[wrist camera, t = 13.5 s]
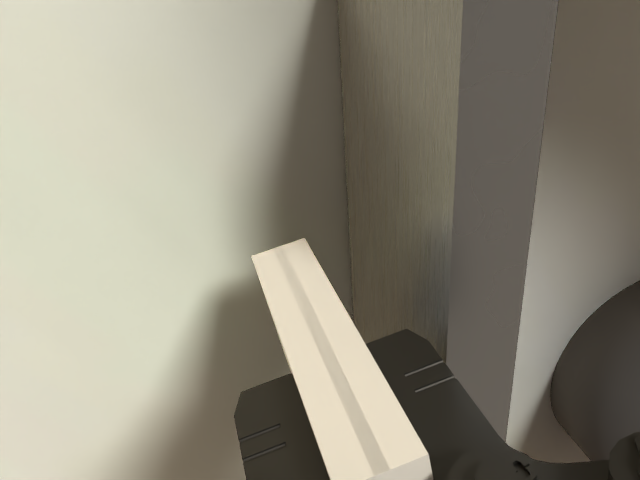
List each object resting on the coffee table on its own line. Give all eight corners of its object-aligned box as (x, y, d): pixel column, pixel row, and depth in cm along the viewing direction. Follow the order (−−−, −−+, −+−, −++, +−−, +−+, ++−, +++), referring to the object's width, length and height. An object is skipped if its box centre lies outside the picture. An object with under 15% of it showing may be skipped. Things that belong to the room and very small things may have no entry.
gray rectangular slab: (329, -62, 12) (502, -71, 6) (400, -68, 12) (631, -82, 6) (360, 508, 21) (443, 737, 15) (401, 497, 21) (499, 717, 15)
